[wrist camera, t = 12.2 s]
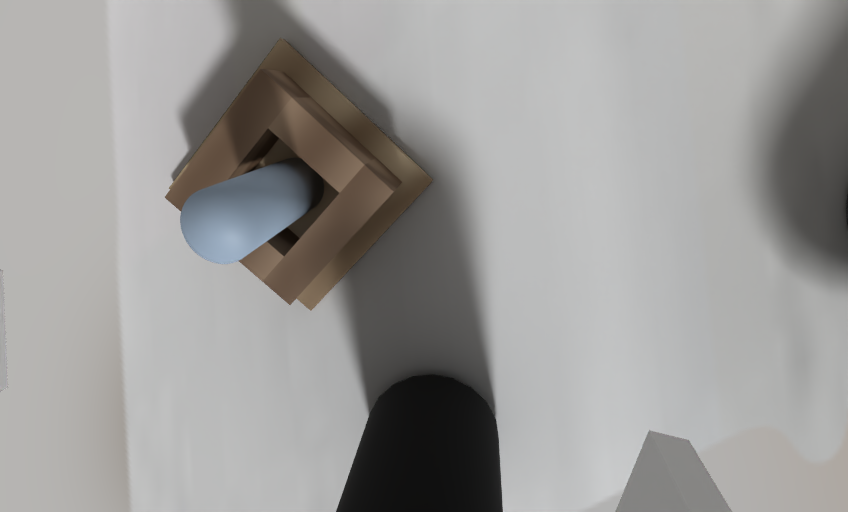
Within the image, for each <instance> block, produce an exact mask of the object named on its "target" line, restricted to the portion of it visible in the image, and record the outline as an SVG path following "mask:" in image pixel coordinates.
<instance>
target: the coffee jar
mask: <svg viewBox="0 0 848 512" xmlns="http://www.w3.org/2000/svg"><path fill="white" fill-rule="evenodd" d="M336 512H503V507H502V490H501V472H500V455H499V438H498V431H497V424H496V419H495V417H494V415H493V413H492V411H491V410H490V408H489V406H488V404H487V402H486V401H485V400H484V399H483V398H482V397H480V396H479V395H478V394H477V393H476V392H475V391H474V390H473V389H472V388H471V387H469V386H467V385H465V384H463V383H461V382H459V381H457V380H455V379H453V378H448V377H443V376H438V375H423V376H413V377H410V378H408V379H406V380H403V381H401V382H398V383H396V384H394V385H392V386H391V387H390V388H389V389H388V390H387V391H386V392H384V393H383V394H382V395H381V396H380V397H379V398H378V400H377V402H376V403H375V405H374V407H373V409H372V411H371V412H370V415H369V418H368V421H367V424H366V427H365V430H364V432H363V435H362V438H361V441H360V444H359V447H358V450H357V453H356V456H355V459H354V461H353V464H352V467H351V470H350V473H349V476H348V479H347V482H346V485H345V488H344V490H343V493H342V496H341V499H340V502H339V505H338V508H337V511H336Z"/></svg>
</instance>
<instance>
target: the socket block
mask: <svg viewBox="0 0 848 512" xmlns="http://www.w3.org/2000/svg"><path fill="white" fill-rule="evenodd" d="M288 158H302V159H303V160H304V161H305V162H306V163H307V164H308V165H309V166H310V167H311V168H312V169H314V170H315V171H316V172H317V173H318V174H319V175H320V176H321V177H322V178H323V182H324V193H323V196H322V199H321V201H320V202H319V204H318V205H317V206H316V207H314V208H313V209H312V210H310V211H309V212H307V213H306V214H305V215H303V216H302V217H300V218H299V219H297V220H296V221H295V222H293V223H292V224H290V225H289V226H288V227H286V228H285V229H283V230H282V231H281V232H279V233H278V234H276V235H275V236H273V237H272V238H271V239H269V240H268V241H266V242H265V243H264V244H262V245H261V246H259V247H258V248H257V249H255V250H254V251H252V252H251V253H249V254H248V255H247V256H245V257H244V258H242V259H241V260H239V262H240V263H242V264H243V265H244V266H245V267H246V268H247V269H249V270H250V271H251V272H252V273H253V274H254V275H256V276H257V277H258V278H259V279H260V280H261V281H263V282H264V283H265V284H266V285H267V286H268V287H270V288H271V289H272V290H273V291H274V292H275V293H277V294H278V295H279V296H280V297H281V298H282V299H283V300H285V301H286V302H287V303H288V304H289V305H291V304H292V302H293V301H294V300H295V299H296V298H297V299H298V300H299V301H300V302H301V303H302V304H304V305H305V306H306V307H307V308H308V309H309V310H312V309H313V308H314V307H315V306H316V305H317V304H318V303H319V302H320V301H321V300H322V298H323V297H324V296H325V295H326V294H327V293H328V292H329V291H330V290H331V289H332V288H333V287H334V286H335V285H336V284H337V282H338V281H339V280H340V279H341V278H342V277H343V276H344V275H345V274H346V273H347V272H348V271H349V270H350V269H351V268H352V266H353V265H354V264H355V263H356V262H357V261H358V260H359V259H360V258H361V257H362V256H363V255H364V254H365V253H366V252H367V250H368V249H369V248H370V247H371V246H372V245H373V244H374V243H375V242H376V241H377V240H378V239H379V238H380V237H381V235H382V234H383V233H384V232H385V231H386V230H387V229H388V228H389V227H390V226H391V225H392V224H393V223H394V222H395V221H396V219H397V218H398V217H399V216H400V215H401V214H402V213H403V212H404V211H405V210H406V209H407V208H408V207H409V206H410V205H411V203H412V202H413V201H414V200H415V199H416V198H417V197H418V196H419V195H420V194H421V193H422V192H423V191H424V190H425V188H426V187H427V186H428V185H429V184H430V183H431V182H432V181H433V179H432V178H431V177H430V176H429V175H428V174H427V173H426V172H425V171H423V170H422V169H421V168H420V167H419V166H418V165H417V164H416V163H415V162H414V161H413V160H412V159H411V158H410V157H409V156H408V155H406V154H405V153H404V152H403V151H402V150H401V149H400V148H399V147H398V146H397V145H396V144H395V143H394V142H393V141H392V140H391V139H389V138H388V137H387V136H386V135H385V134H384V133H383V132H382V131H381V130H380V129H379V128H378V127H377V126H376V125H375V124H374V123H373V122H371V121H370V120H369V119H368V118H367V117H366V116H365V115H364V114H363V113H362V112H361V111H360V110H359V109H358V108H357V107H356V106H354V105H353V104H352V103H351V102H350V101H349V100H348V99H347V98H346V97H345V96H344V95H343V94H342V93H341V92H340V91H339V90H338V89H336V88H335V87H334V86H333V85H332V84H331V83H330V82H329V81H328V80H327V79H326V78H325V77H324V76H323V75H322V74H321V73H319V72H318V71H317V70H316V69H315V68H314V67H313V66H312V65H311V64H310V63H309V62H308V61H307V60H306V59H305V58H304V57H302V56H301V55H300V54H299V53H298V52H297V51H296V50H295V49H294V48H293V47H292V46H291V45H290V44H289V43H288V42H287V41H286V40H284V39H281V38H280V39H279V41H278V42H277V43H276V45H275V46H274V47H273V49H272V50H271V51H270V53H269V54H268V55H267V57H266V58H265V59H264V61H263V62H262V64H261V65H260V66H259V68H258V69H257V70H256V72H255V73H254V74H253V76H252V77H251V78H250V80H249V81H248V82H247V84H246V85H245V86H244V88H243V89H242V90H241V92H240V93H239V94H238V96H237V97H236V98H235V100H234V101H233V103H232V104H231V105H230V107H229V108H228V109H227V111H226V112H225V113H224V115H223V116H222V117H221V119H220V120H219V121H218V123H217V124H216V125H215V127H214V128H213V129H212V131H211V132H210V133H209V135H208V136H207V137H206V139H205V140H204V142H203V143H202V144H201V146H200V147H199V148H198V150H197V151H196V152H195V154H194V155H193V156H192V158H191V159H190V160H189V162H188V163H187V164H186V166H185V167H184V168H183V170H182V171H181V172H180V174H179V175H178V176H177V178H176V179H175V181H174V182H173V183H172V185H171V186H170V187H169V189H170V191H169V192H168V193H167V195H166V196H165V198H166V199H167V200H168V201H169V202H171V203H172V204H173V205H174V206H175V207H176V208H178V209H179V210H180V211H182V208H183V205H184V203H185V202H186V200H187V199H188V198H189V197H190V196H191V195H192V194H193V193H195V192H197V191H199V190H201V189H204V188H207V187H209V186H212V185H215V184H218V183H221V182H223V181H226V180H229V179H232V178H235V177H237V176H240V175H243V174H246V173H249V172H251V171H254V170H257V169H260V168H263V167H265V166H268V165H271V164H274V163H277V162H279V161H282V160H285V159H288Z"/></svg>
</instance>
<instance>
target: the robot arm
mask: <svg viewBox="0 0 848 512" xmlns="http://www.w3.org/2000/svg"><path fill="white" fill-rule="evenodd" d="M846 211H847V223H848V196H847V210H846ZM4 311H5V309H4V286H3V270H0V392H1V391H2V390H4V389H6V388H7V387H8V382H7V357H6V336H5V335H6V333H5V312H4ZM616 512H732V511H731V509H730V508H729V506H728V504H727V503H726V501H725V499H724V498H723V496H722V494H721V493H720V491H719V490H718V488H717V486H716V484H715V483H714V481H713V479H712V478H711V476H710V474H709V473H708V471H707V469H706V468H705V466H704V465H703V463H702V461H701V460H700V458H699V456H698V455H697V453H696V451H695V450H694V448H693V446H692V445H691V443H690V441H689V440H686V439H682V438H678V437H673V436H669V435H665V434H661V433H657V432H653V431H649V432H648V434H647V437H646V439H645V442H644V444H643V446H642V449H641V451H640V454H639V456H638V458H637V461H636V463H635V466H634V468H633V471H632V473H631V475H630V478H629V480H628V483H627V485H626V487H625V490H624V492H623V495H622V497H621V500H620V502H619V504H618V507H617V509H616Z"/></svg>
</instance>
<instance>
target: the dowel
mask: <svg viewBox="0 0 848 512" xmlns="http://www.w3.org/2000/svg"><path fill="white" fill-rule="evenodd" d="M323 193H324V182H323V178H322V177H321V176H320V175H319V174H318V173H317V172H316V171H315V170H314V169H312V168H311V167H310V166H309V165H308V164H307V163H306V162H305V161H304V160H303V159H302V158H288V159H285V160H282V161H279V162H277V163H274V164H271V165H268V166H265V167H263V168H260V169H257V170H254V171H251V172H249V173H246V174H243V175H240V176H237V177H235V178H232V179H229V180H226V181H223V182H221V183H218V184H215V185H212V186H209V187H207V188H204V189H201V190H199V191H197V192H195V193H193V194H192V195H191V196H190V197H189V198H188V199H187V200H186V202H185V203H184V205H183V208H182V211H181V217H180V223H181V229H182V233H183V235H184V238H185V240H186V242H187V243H188V244H189V246H190V247H191V248H192V249H193V251H195V252H196V253H197V254H198V255H199V256H201V257H202V258H204V259H206V260H208V261H211V262H214V263H219V264H230V263H234V262H237V261H239V260H241V259H242V258H244V257H245V256H247V255H248V254H249V253H251V252H252V251H254V250H255V249H257V248H258V247H259V246H261V245H262V244H264V243H265V242H266V241H268V240H269V239H271V238H272V237H273V236H275V235H276V234H278V233H279V232H281V231H282V230H283V229H285V228H286V227H288V226H289V225H290V224H292V223H293V222H295V221H296V220H297V219H299V218H300V217H302V216H303V215H305V214H306V213H307V212H309V211H310V210H312V209H313V208H314V207H316V206H317V205H318V204H319V202H320V201H321V199H322V196H323Z"/></svg>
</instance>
